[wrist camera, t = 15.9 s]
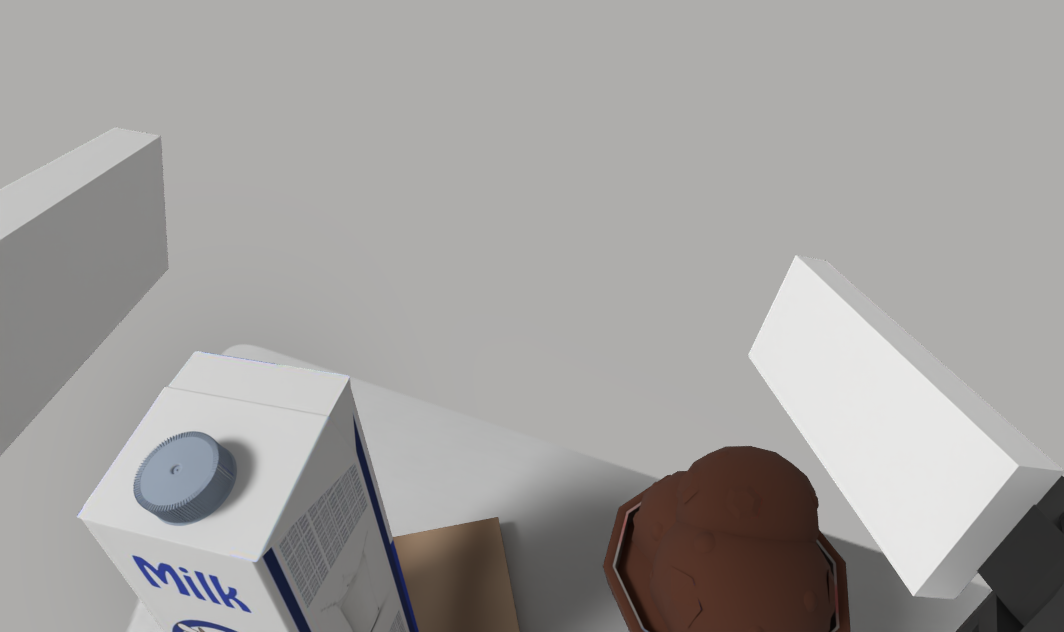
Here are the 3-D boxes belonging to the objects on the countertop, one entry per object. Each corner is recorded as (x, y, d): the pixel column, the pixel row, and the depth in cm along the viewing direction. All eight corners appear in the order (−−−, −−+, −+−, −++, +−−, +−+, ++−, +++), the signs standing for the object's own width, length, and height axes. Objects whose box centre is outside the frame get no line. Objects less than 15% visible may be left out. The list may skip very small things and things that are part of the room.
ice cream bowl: (592, 577, 39) (597, 400, 31) (774, 574, 39) (830, 394, 30) (607, 777, 31) (619, 610, 22) (840, 777, 30) (947, 607, 22)
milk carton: (426, 645, 35) (351, 371, 23) (369, 785, 30) (237, 521, 18) (313, 615, 37) (191, 346, 25) (241, 742, 32) (45, 476, 20)
